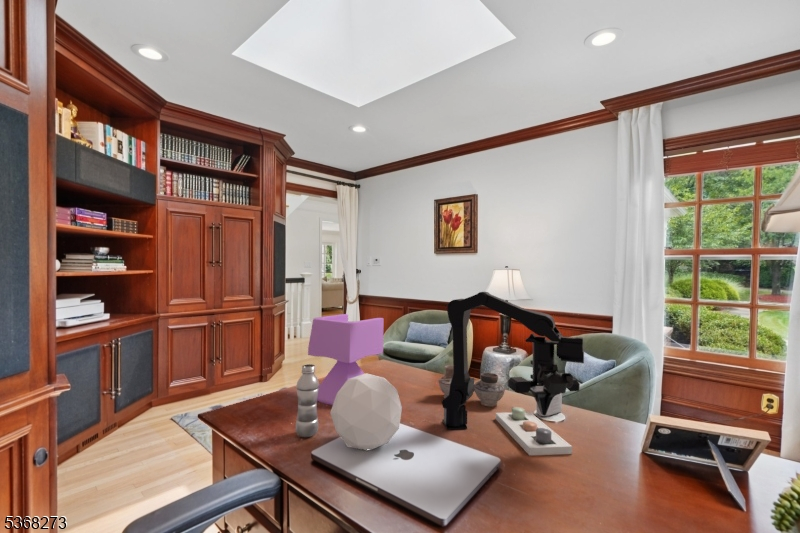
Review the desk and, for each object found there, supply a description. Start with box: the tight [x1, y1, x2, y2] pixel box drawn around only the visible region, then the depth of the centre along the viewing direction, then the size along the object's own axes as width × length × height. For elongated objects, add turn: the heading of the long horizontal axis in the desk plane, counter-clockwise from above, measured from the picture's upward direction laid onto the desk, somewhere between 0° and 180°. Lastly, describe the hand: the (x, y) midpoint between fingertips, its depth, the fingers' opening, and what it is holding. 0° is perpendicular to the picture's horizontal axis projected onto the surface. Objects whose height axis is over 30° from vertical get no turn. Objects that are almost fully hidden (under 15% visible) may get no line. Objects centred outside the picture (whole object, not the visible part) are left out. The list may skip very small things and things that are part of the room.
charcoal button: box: [536, 428, 551, 445], centre depth 101 cm, size 4×4×3 cm
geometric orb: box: [329, 372, 403, 451], centre depth 100 cm, size 19×20×20 cm
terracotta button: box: [523, 421, 537, 432], centre depth 109 cm, size 4×4×3 cm
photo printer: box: [536, 393, 563, 417], centre depth 126 cm, size 10×4×12 cm, turn 123°
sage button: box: [511, 406, 526, 421], centre depth 117 cm, size 4×4×3 cm
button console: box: [495, 411, 573, 456], centre depth 109 cm, size 12×24×2 cm, turn 7°
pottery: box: [437, 364, 506, 407], centre depth 137 cm, size 11×25×12 cm, turn 67°
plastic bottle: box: [294, 363, 320, 438], centre depth 105 cm, size 6×7×20 cm
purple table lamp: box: [307, 313, 385, 406], centre depth 137 cm, size 20×20×30 cm
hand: (543, 414), depth 102 cm, fingers closed
